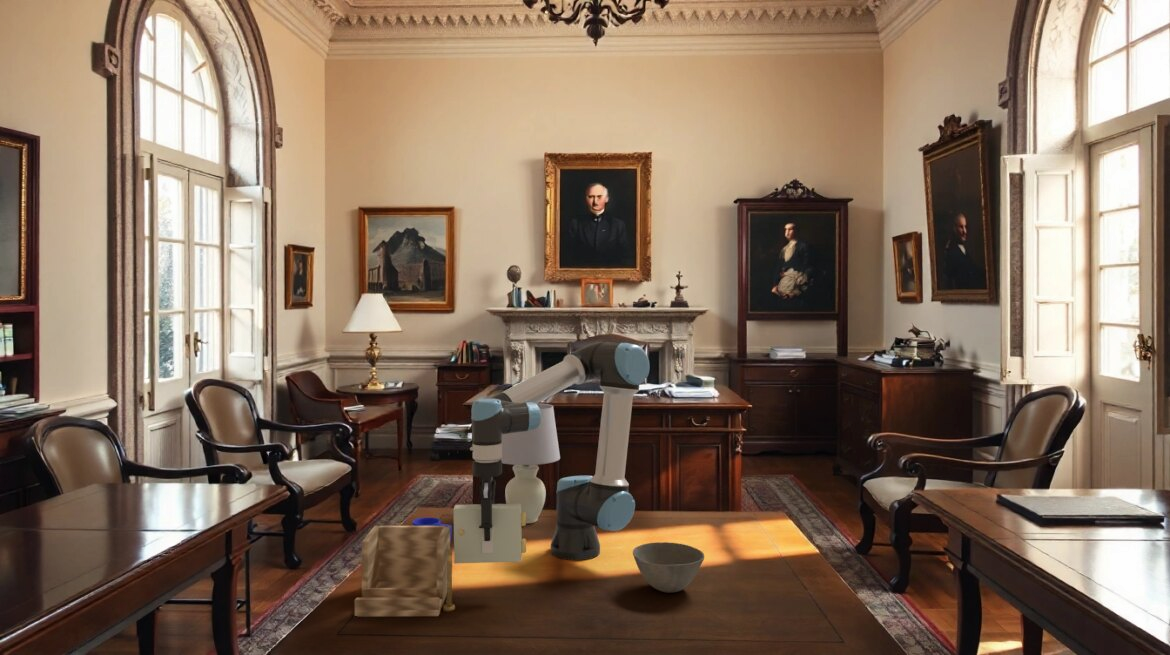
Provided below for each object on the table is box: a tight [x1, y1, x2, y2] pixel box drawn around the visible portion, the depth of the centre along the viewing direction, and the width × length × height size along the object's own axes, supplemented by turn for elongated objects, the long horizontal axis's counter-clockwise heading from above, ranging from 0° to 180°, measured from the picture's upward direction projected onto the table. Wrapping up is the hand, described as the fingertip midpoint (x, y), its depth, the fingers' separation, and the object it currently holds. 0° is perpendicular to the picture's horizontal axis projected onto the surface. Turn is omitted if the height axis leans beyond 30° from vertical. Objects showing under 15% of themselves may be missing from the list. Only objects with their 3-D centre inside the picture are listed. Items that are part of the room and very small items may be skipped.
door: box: [453, 503, 527, 564], centre depth 201 cm, size 18×5×14 cm, turn 93°
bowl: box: [632, 541, 705, 593], centre depth 208 cm, size 19×19×10 cm
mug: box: [412, 517, 453, 542], centre depth 235 cm, size 8×12×10 cm
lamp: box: [501, 402, 561, 524], centre depth 273 cm, size 24×24×40 cm
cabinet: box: [354, 525, 456, 617], centre depth 199 cm, size 23×21×16 cm
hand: (488, 549), depth 202 cm, fingers closed on door, 4 cm apart
